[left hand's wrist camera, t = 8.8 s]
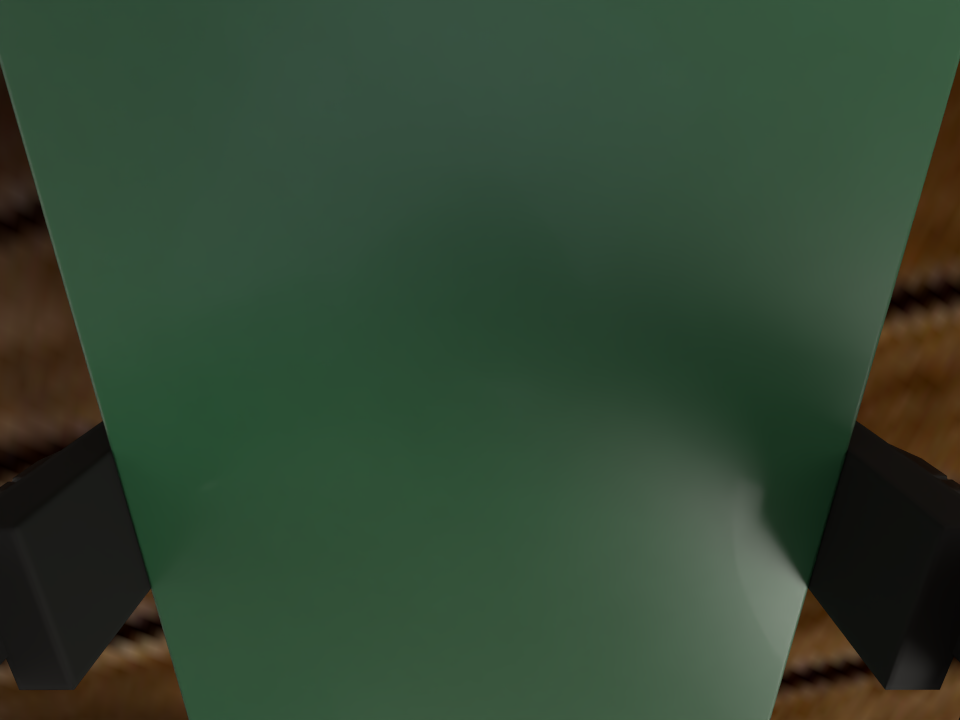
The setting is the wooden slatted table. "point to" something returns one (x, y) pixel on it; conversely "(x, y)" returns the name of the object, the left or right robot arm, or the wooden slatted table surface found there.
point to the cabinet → (479, 329)
